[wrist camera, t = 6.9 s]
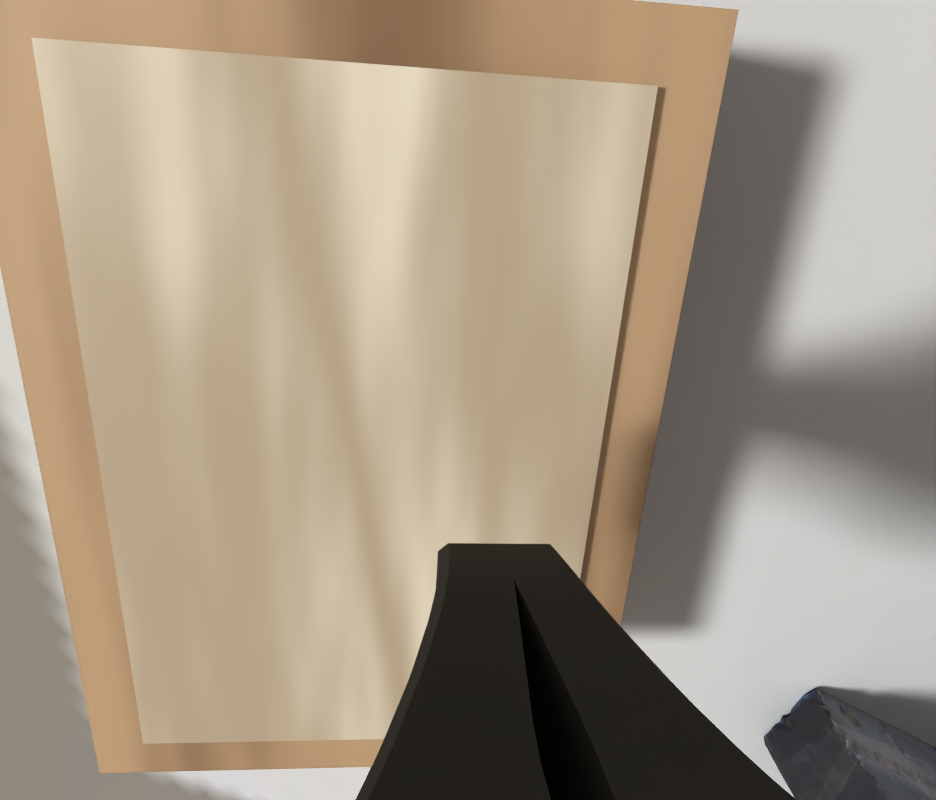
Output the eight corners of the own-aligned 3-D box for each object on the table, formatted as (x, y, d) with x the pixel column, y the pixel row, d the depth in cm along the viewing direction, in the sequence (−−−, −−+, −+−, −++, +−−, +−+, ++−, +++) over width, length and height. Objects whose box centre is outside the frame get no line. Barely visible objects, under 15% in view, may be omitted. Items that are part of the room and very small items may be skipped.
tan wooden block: (745, 8, 9) (-75, -67, 8) (597, 769, 15) (95, 782, 14) (644, 35, 13) (79, -13, 12) (556, 629, 18) (164, 631, 17)
